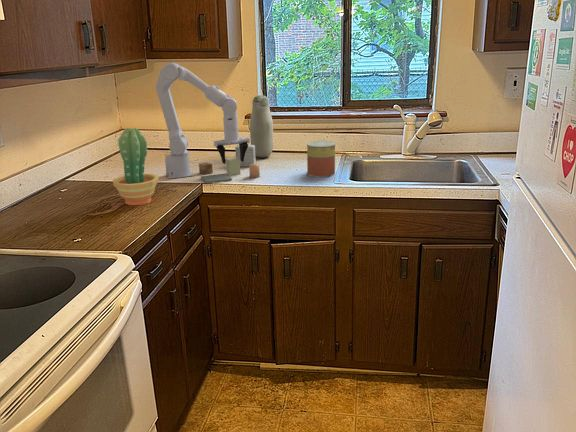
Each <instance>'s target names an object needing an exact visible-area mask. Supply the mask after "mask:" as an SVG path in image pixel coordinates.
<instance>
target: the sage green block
mask: <svg viewBox="0 0 576 432" xmlns="http://www.w3.org/2000/svg"><path fill="white" fill-rule="evenodd" d="M225 160H226V164H225V167H226V173H228V174H227V175H228V176H235V175H236V174H238V175H242V174H241V166H240V160H239V159H238V158H236V157H229V158H225Z"/></svg>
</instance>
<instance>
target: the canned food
mask: <svg viewBox="0 0 576 432" xmlns="http://www.w3.org/2000/svg"><path fill="white" fill-rule="evenodd" d="M306 153H307V154H306V156H307V157H306V158H307V161H306V162H307V165H306V167H307V170H306V171H307V172H306V175H308V176H311V177H316V178H317V177H318V178H319V177H320V178H321V177H322V178H323V177H325V178H326V177H332V176H333V175H336V143H335V142H333V141H328V140H327V141H326V140H321V141H320V140H317V141H310V142H307V143H306Z"/></svg>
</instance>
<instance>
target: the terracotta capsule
mask: <svg viewBox="0 0 576 432" xmlns="http://www.w3.org/2000/svg"><path fill="white" fill-rule="evenodd" d="M248 170H249V178H251V179H258V178H260V177H261V176H260V175H261V174H260V164H259V163H253V164H249V166H248Z"/></svg>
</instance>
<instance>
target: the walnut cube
mask: <svg viewBox="0 0 576 432" xmlns="http://www.w3.org/2000/svg"><path fill="white" fill-rule="evenodd" d="M198 171H199V174H201V175H202V176H207V175H212V174H213V173H214V172H213V164H212V163H211V162H208V161H207V162H202V163H198ZM211 173H212V174H211Z"/></svg>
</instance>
